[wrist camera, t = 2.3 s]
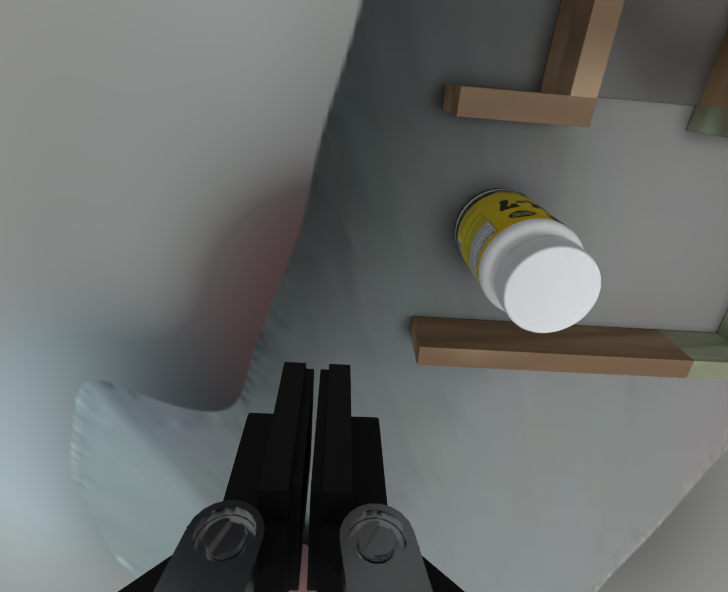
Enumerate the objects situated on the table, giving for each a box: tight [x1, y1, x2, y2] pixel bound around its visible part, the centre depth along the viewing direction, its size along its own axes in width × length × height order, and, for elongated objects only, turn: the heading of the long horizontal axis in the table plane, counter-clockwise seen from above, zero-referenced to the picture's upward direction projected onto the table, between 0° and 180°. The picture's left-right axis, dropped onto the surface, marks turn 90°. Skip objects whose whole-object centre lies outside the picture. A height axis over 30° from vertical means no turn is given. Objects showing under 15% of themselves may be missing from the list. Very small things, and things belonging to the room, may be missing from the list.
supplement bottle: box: [455, 189, 601, 333], centre depth 22 cm, size 5×5×8 cm
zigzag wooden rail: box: [410, 0, 728, 380], centre depth 23 cm, size 22×21×4 cm
